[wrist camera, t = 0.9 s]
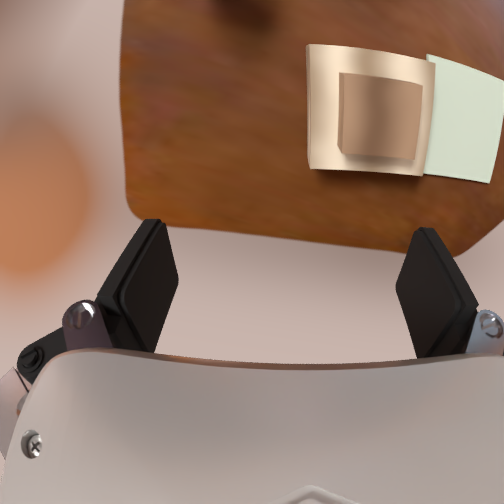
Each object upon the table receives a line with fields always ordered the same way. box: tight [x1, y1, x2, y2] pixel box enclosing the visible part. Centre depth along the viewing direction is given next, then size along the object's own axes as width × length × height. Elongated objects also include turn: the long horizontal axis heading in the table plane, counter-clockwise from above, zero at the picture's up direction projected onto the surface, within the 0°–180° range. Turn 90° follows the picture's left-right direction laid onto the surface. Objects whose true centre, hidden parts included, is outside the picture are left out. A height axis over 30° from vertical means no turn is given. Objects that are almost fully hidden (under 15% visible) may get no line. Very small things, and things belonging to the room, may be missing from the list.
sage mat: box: [423, 54, 504, 183], centre depth 24 cm, size 12×14×1 cm
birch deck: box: [306, 44, 436, 176], centre depth 24 cm, size 12×12×4 cm
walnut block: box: [337, 72, 423, 160], centre depth 21 cm, size 7×7×2 cm
